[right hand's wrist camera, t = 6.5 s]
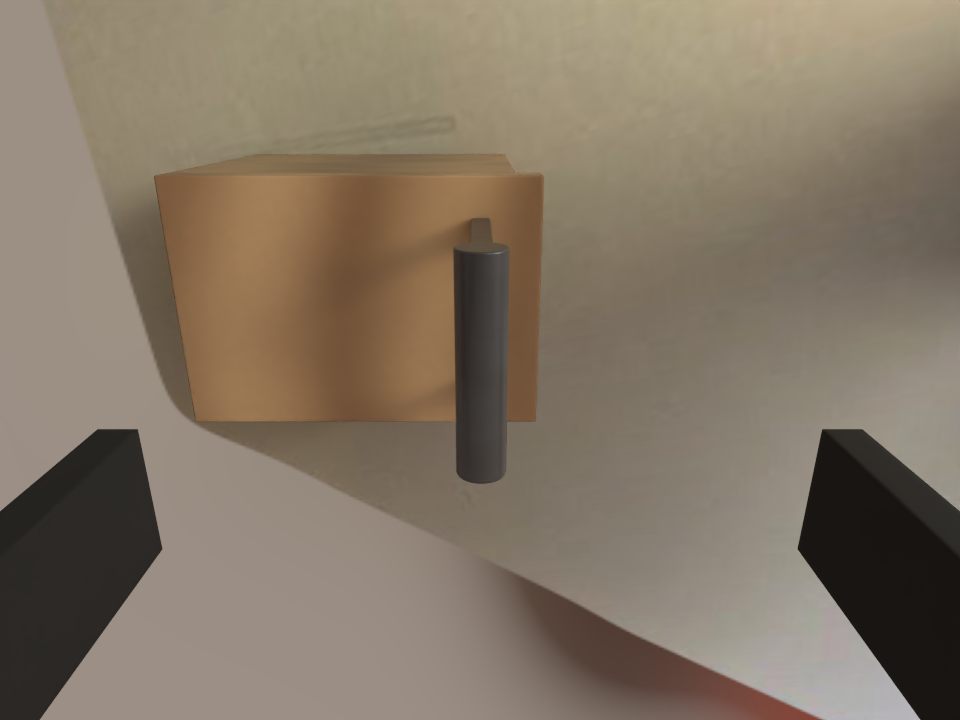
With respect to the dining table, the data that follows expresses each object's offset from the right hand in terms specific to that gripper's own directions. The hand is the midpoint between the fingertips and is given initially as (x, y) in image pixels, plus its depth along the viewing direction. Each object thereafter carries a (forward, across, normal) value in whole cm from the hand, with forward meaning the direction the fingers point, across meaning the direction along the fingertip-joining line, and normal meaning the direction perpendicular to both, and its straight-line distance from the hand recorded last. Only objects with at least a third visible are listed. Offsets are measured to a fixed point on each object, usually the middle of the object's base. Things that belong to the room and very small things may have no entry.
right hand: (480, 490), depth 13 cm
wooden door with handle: (+14, -5, 0) cm, 15 cm away
